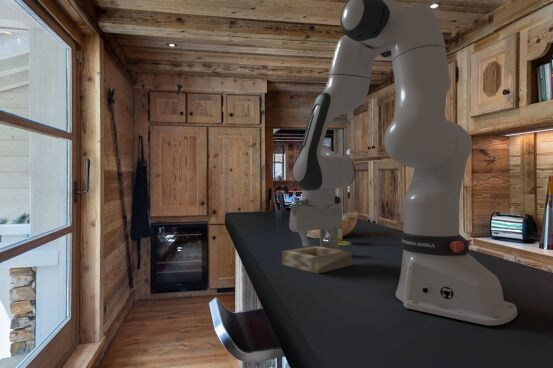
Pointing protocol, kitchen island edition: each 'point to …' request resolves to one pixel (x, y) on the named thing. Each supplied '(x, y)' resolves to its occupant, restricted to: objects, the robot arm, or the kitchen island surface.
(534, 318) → the kitchen island surface
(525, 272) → the kitchen island surface
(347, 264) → the wooden tray
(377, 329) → the kitchen island surface
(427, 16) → the robot arm
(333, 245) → the skincare box
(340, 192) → the candle
